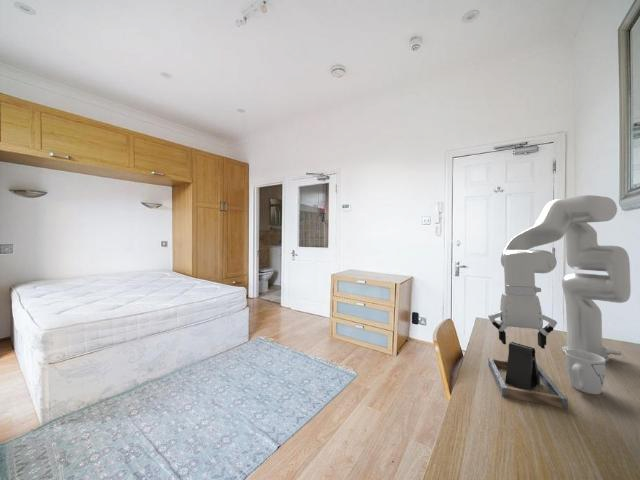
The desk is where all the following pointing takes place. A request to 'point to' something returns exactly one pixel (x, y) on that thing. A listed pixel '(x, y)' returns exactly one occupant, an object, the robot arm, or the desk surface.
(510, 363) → the phone stand
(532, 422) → the desk surface
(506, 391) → the wooden frame
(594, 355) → the mug
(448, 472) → the desk surface
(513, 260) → the robot arm
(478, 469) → the desk surface
